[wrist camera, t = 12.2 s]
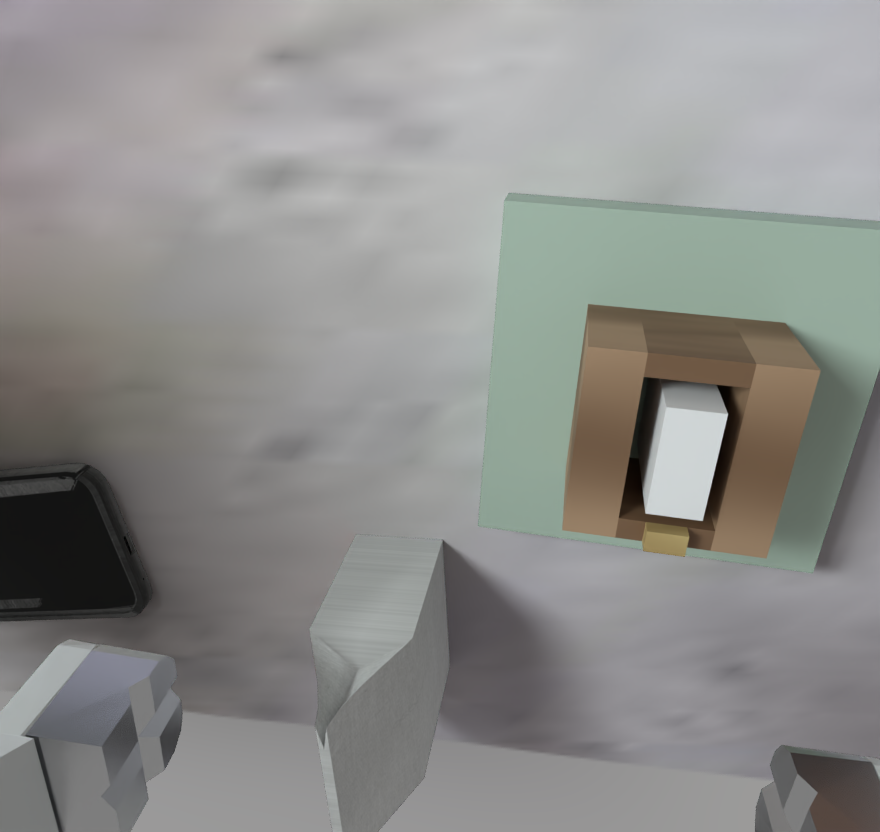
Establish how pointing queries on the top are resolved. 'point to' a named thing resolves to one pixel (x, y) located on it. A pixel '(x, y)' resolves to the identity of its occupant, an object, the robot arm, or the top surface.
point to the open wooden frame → (744, 439)
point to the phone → (65, 547)
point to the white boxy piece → (379, 676)
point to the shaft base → (683, 283)
